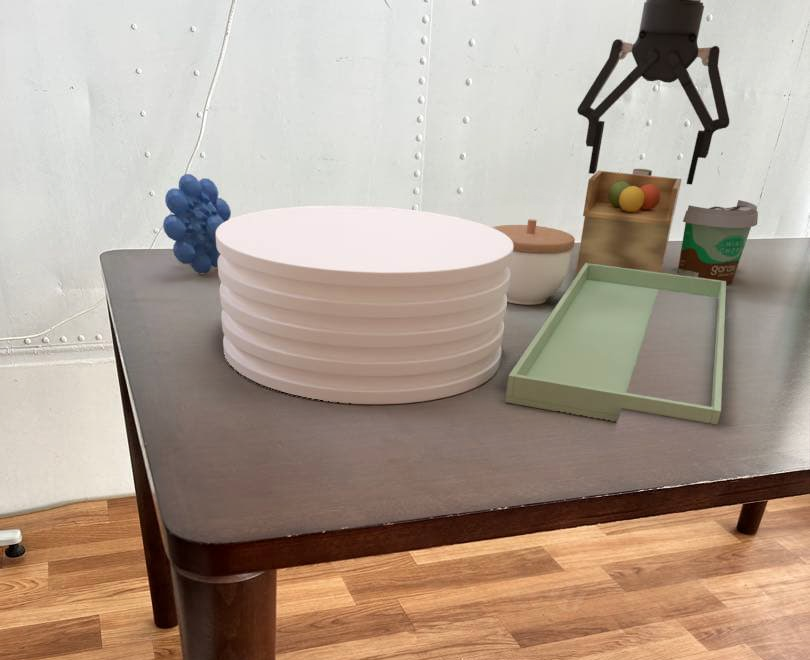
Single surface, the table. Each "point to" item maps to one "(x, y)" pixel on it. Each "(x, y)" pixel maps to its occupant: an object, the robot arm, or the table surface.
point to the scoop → (667, 187)
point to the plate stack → (363, 302)
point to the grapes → (195, 221)
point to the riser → (623, 244)
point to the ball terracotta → (650, 197)
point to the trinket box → (536, 261)
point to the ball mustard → (631, 199)
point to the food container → (715, 240)
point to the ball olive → (616, 192)
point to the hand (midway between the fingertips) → (640, 177)
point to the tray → (607, 346)
